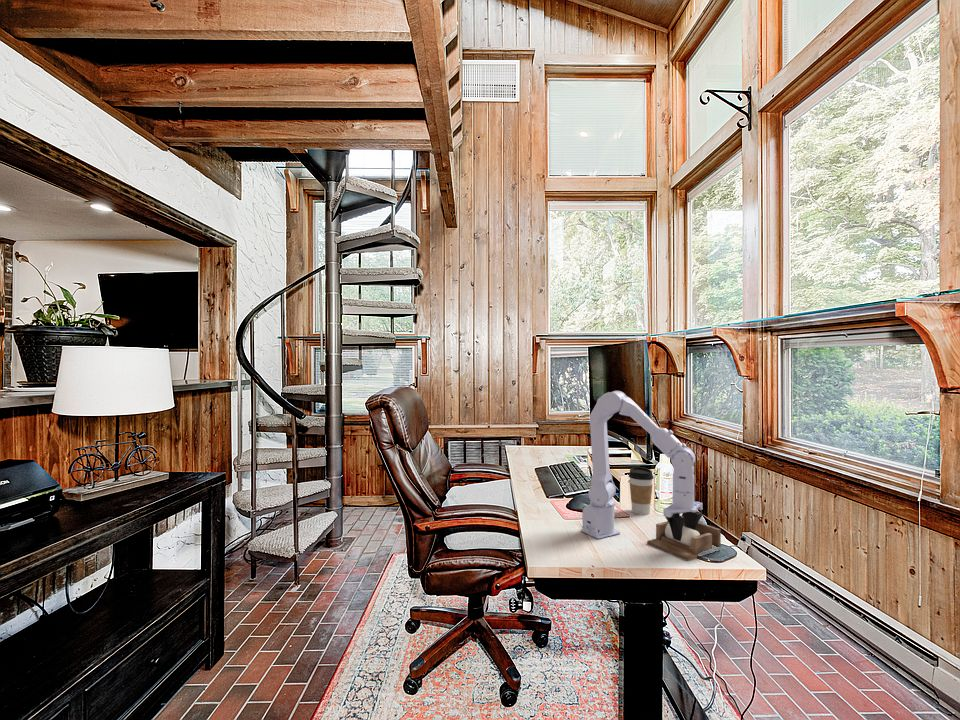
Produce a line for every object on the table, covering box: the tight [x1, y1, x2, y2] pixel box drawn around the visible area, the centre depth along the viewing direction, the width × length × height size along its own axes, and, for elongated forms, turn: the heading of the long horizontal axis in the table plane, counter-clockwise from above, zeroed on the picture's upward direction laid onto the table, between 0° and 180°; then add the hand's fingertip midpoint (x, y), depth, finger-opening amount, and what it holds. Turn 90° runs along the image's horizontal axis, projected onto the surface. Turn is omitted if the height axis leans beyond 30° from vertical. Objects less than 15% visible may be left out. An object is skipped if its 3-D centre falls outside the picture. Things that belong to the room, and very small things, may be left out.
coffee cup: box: [628, 466, 654, 515], centre depth 167 cm, size 8×8×15 cm
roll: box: [665, 523, 700, 547], centre depth 136 cm, size 5×8×5 cm, turn 30°
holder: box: [646, 515, 722, 561], centre depth 136 cm, size 14×14×6 cm
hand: (683, 537), depth 136 cm, fingers closed on roll, 5 cm apart
